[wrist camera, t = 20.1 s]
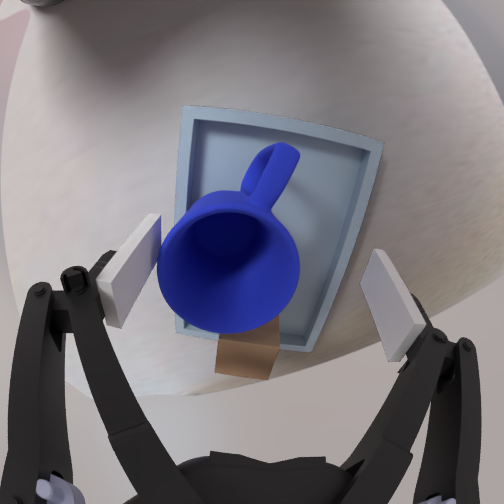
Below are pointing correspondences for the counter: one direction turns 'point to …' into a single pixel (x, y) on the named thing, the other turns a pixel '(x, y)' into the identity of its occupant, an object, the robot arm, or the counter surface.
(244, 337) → the walnut block
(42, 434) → the robot arm
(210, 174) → the tray
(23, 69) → the counter surface
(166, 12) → the counter surface
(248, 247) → the mug
